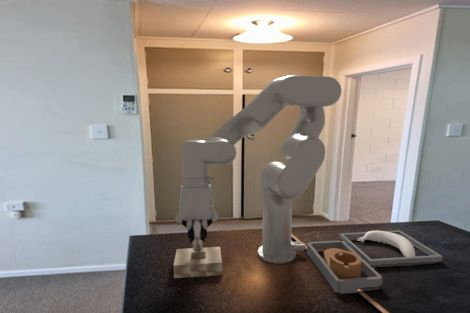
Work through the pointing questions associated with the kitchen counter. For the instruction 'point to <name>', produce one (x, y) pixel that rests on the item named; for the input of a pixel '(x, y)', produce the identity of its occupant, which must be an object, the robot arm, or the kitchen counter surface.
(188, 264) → the hole block
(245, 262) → the kitchen counter surface
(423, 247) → the banana edging
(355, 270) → the bracket
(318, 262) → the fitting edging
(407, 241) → the banana
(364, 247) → the kitchen counter surface
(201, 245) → the steel peg
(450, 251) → the kitchen counter surface
